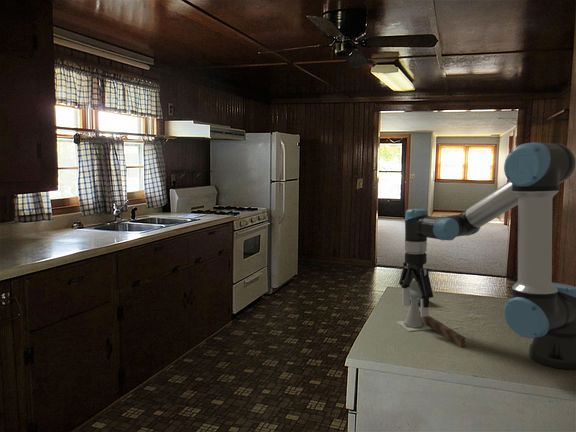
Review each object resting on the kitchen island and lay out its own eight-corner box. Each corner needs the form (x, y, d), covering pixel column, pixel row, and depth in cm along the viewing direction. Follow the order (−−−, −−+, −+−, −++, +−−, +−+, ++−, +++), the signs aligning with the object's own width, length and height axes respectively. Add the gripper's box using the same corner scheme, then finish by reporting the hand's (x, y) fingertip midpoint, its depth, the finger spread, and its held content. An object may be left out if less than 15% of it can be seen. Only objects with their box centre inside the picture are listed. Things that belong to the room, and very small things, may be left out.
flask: (424, 329, 175) (425, 301, 174) (403, 327, 176) (404, 300, 175) (423, 322, 182) (424, 295, 181) (403, 321, 183) (403, 294, 182)
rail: (465, 346, 160) (465, 337, 159) (460, 347, 159) (461, 338, 159) (422, 319, 186) (422, 312, 185) (419, 320, 185) (419, 312, 185)
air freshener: (420, 306, 201) (420, 282, 200) (400, 303, 206) (400, 280, 204) (427, 300, 211) (428, 277, 209) (408, 297, 215) (409, 274, 214)
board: (431, 329, 175) (431, 328, 175) (408, 331, 173) (408, 330, 173) (417, 320, 185) (417, 319, 185) (395, 322, 183) (395, 321, 183)
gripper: (444, 258, 165) (443, 319, 167) (408, 246, 189) (407, 300, 191) (424, 259, 163) (423, 322, 165) (390, 247, 187) (390, 302, 189)
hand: (414, 310), depth 178 cm, fingers open, 13 cm apart
